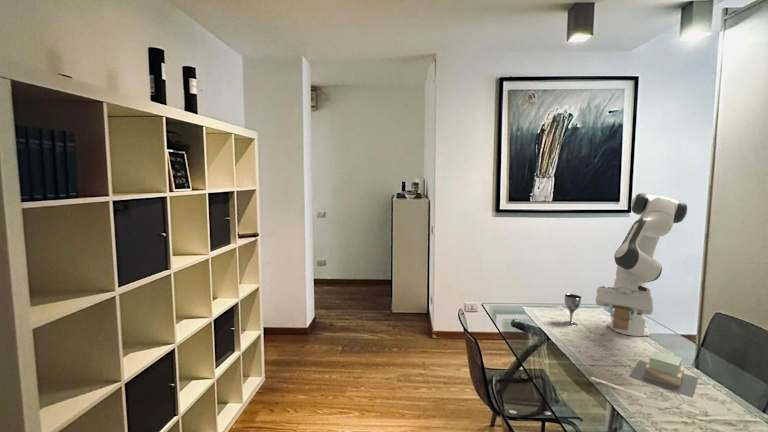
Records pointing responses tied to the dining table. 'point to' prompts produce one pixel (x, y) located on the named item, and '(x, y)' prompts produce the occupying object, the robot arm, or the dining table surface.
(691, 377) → the mat
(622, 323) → the walnut block
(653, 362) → the tower top
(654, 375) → the tower base
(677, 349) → the dining table surface
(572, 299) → the wine glass
